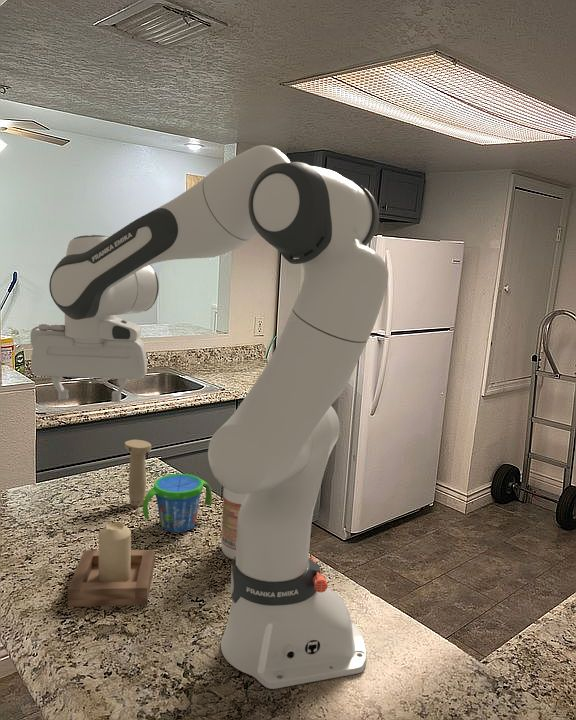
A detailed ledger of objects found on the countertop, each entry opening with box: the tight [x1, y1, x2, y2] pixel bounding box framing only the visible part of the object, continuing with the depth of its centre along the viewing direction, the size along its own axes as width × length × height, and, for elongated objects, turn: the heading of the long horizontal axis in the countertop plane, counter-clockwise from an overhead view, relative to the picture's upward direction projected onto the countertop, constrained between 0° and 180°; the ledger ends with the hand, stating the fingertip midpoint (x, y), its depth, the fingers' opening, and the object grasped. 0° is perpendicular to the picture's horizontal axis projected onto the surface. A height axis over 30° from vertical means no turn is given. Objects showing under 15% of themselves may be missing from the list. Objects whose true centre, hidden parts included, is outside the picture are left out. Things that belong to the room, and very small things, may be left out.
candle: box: [98, 521, 132, 582], centre depth 106 cm, size 6×6×10 cm
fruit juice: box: [220, 487, 248, 560], centre depth 119 cm, size 9×9×28 cm
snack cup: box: [142, 473, 213, 534], centre depth 130 cm, size 16×10×10 cm
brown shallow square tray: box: [67, 549, 155, 608], centre depth 107 cm, size 13×13×3 cm
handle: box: [124, 439, 152, 508], centre depth 139 cm, size 5×6×15 cm
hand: (90, 400), depth 110 cm, fingers open, 8 cm apart
